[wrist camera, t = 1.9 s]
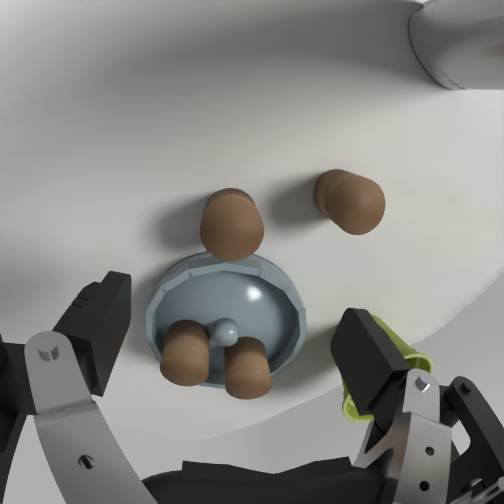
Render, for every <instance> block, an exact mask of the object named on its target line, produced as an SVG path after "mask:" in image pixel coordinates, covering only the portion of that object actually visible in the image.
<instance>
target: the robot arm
mask: <svg viewBox="0 0 504 504" xmlns="http://www.w3.org/2000/svg"><path fill="white" fill-rule="evenodd" d="M409 34H410V39H411V42H412V46H413V48H414V50H415V53H416V55H417V57H418V59H419V60H420V62H421V64H422V65H423V67H424V68H425V69H426V71H427V72H428V73H429V74H430V75H431V76H432V77H433V79H435V80H436V81H437V82H438V83H439V84H441V85H442V86H444V87H446V88H448V89H452V90H472V89H482V90H504V0H429V1H427V2H425V3H423V7H422V9H421V10H419V11H416V12H415V13H414V14H413V15H412V17H411V19H410V22H409ZM130 319H131V275H130V274H125V273H120V272H115V271H109V272H108V274H107V275H106V276H105V278H104V279H103V280H102V282H101V283H99V282H93V283H91V284H89V285H87V286H86V287H84V288H83V289H82V290H81V292H80V293H79V294H78V295H77V298H75V299H74V301H73V302H72V303H71V306H69V307H68V309H67V310H66V312H65V313H64V314H63V316H62V317H61V318H60V320H59V321H58V323H57V324H56V326H55V327H54V328H53V330H52V331H44V332H40V333H38V334H35V335H34V336H32V337H31V338H30V339H29V340H28V341H27V343H26V344H15V343H5V342H3V340H2V337H1V334H0V504H2V503H3V498H4V493H5V487H6V483H7V479H8V475H9V471H10V467H11V463H12V460H13V456H14V453H15V449H16V446H17V443H18V440H19V437H20V434H21V431H22V428H23V425H24V423H25V420H26V417H27V415H34V422H35V426H36V430H37V433H38V436H39V439H40V442H41V445H42V448H43V451H44V454H45V456H46V459H47V462H48V464H49V467H50V469H51V472H52V474H53V476H54V479H55V481H56V483H57V485H58V487H59V489H60V492H61V494H62V496H63V498H64V500H65V502H66V504H504V428H503V426H502V424H501V423H500V421H499V420H498V418H497V417H496V415H495V414H494V412H493V410H492V409H491V407H490V406H489V404H488V403H487V401H486V400H485V399H484V397H483V396H482V394H481V393H480V391H479V390H478V389H477V387H476V386H475V385H474V384H473V382H471V381H470V380H469V379H467V378H465V377H461V376H458V377H456V378H455V379H454V380H453V381H452V383H451V384H450V385H449V386H441V385H439V384H438V382H437V381H436V379H435V378H434V377H433V376H432V375H431V374H430V373H428V372H427V371H424V370H422V369H412V368H411V366H410V365H409V363H408V362H407V361H406V359H405V358H404V356H403V355H402V353H401V352H400V351H399V349H398V348H397V347H395V346H396V345H395V344H394V342H393V341H392V340H390V339H391V338H390V337H389V335H388V334H387V333H386V331H385V330H384V329H383V328H381V327H380V326H379V325H378V324H377V323H376V321H375V320H374V319H373V317H372V316H371V315H370V313H369V312H368V311H367V310H365V309H356V308H348V309H346V310H345V312H344V314H343V316H342V318H341V321H340V323H339V325H338V327H337V329H336V331H335V334H334V336H333V338H332V341H331V354H332V356H333V358H334V360H335V363H336V365H337V367H338V369H339V371H340V373H341V376H342V378H343V380H344V382H345V384H346V387H347V389H348V391H349V393H350V396H351V398H352V400H353V402H354V405H355V407H356V409H357V411H358V414H359V416H365V415H373V417H374V418H373V419H372V420H371V421H370V423H369V425H368V428H367V431H366V434H365V437H364V440H363V443H362V446H361V448H360V451H359V454H358V456H357V459H356V461H355V462H354V464H353V465H351V462H350V459H349V457H342V458H336V459H329V460H322V461H315V462H311V463H308V464H306V465H303V466H300V467H297V468H294V469H290V470H287V471H284V472H281V473H276V474H270V473H265V472H259V471H254V470H249V469H245V468H240V467H236V466H232V465H227V464H210V463H199V462H189V461H183V463H182V470H180V471H170V472H165V473H160V474H157V475H153V476H150V477H148V478H145V479H143V480H140V479H139V477H138V476H137V474H136V473H135V471H134V470H133V468H132V466H131V465H130V463H129V462H128V460H127V459H126V457H125V455H124V454H123V452H122V450H121V449H120V447H119V445H118V443H117V442H116V440H115V438H114V436H113V434H112V433H111V431H110V429H109V427H108V425H107V423H106V421H105V419H104V417H103V415H102V413H101V411H100V409H99V407H98V405H97V403H96V402H95V401H93V399H92V397H91V395H92V394H94V395H97V396H101V397H103V394H104V391H105V388H106V386H107V383H108V380H109V377H110V374H111V372H112V369H113V366H114V364H115V361H116V358H117V356H118V353H119V350H120V348H121V345H122V343H123V340H124V338H125V335H126V333H127V330H128V328H129V324H130ZM458 420H460V421H461V423H462V424H463V426H464V428H465V430H466V431H467V433H468V435H469V437H470V446H469V448H468V449H467V450H466V451H465V452H464V453H463V454H462V455H461V456H460V455H459V453H458V451H457V449H456V447H455V445H454V443H453V442H452V439H451V428H452V427H453V426H454V425H455V424H456V423H457V422H458ZM481 479H482V480H481ZM480 480H481V481H480Z"/></svg>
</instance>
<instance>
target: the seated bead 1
mask: <svg viewBox="0 0 504 504" xmlns="http://www.w3.org/2000/svg"><path fill="white" fill-rule="evenodd" d="M209 347H210V335H209V332H208V330H207V329H206V327H205V326H203V325H202V324H201V323H199V322H197V321H194V320H179V321H176V322H174V323H173V324H172V325H171V326H170V327H169V329H168V332H167V336H166V341H165V345H164V350H163V354H162V359H161V363H160V371H161V373H162V375H163V376H164V377H165V378H166V379H167V380H169V381H170V382H172V383H174V384H177V385H181V386H195V385H198V384H201V383H203V382H204V381H205V380H206V379H207V377H208V374H209Z"/></svg>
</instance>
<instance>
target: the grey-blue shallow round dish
mask: <svg viewBox="0 0 504 504" xmlns="http://www.w3.org/2000/svg"><path fill="white" fill-rule="evenodd" d="M179 320H194V321H197V322H199V323H201V324H202V325H203V326H205V327H206V329H207V330H208V332H209V335H210V347H209V374H208V377H207V379H206V380H205V381H204V382H203V383H201V384H198V385H200V386H206V387H215V388H224V389H226V388H225V361H224V350H225V347H226V346H231V345H233V344H235V343H236V342H237V339H238V337H245V336H247V337H254V338H256V339H258V340H260V341H261V342H262V343H263V344H264V346H265V350H266V355H267V360H268V365H269V370H270V376H271V377H273V376H275V375H277V374H279V373H280V372H281V371H282V370H283V369H284V368H285V367H287V366H288V365H289V364H290V363H291V362H292V361H293V360H294V359H295V358H296V357H297V356H298V354H299V351H300V349H301V347H302V345H303V342H304V340H305V338H306V335H307V326H306V311H305V308H304V305H303V303H302V301H301V299H300V297H299V295H298V292H297V290H296V288H295V286H294V285H293V283H292V281H291V280H290V279H289V277H288V276H287V275H286V274H285V273H284V272H283V271H282V270H281V269H280V268H279V267H278V266H276V265H275V264H273V263H272V262H270V261H268V260H267V259H265V258H263V257H260V256H258V255H255V254H252V255H250V256H249V257H247V258H245V259H242V260H239V261H224V260H221V259H218V258H216V257H214V256H213V255H212V254H210V253H209V252H208V251H206V252H202V253H198V254H195V255H193V256H190V257H188V258H186V259H184V260H182V261H180V262H178V263H177V264H176V265H174V266H173V267H172V268H170V269H169V270H168V271H167V272H166V273H165V274H164V275H163V277H162V278H161V280H160V281H159V282H158V284H157V286H156V288H155V290H154V293H153V295H152V298H151V300H150V302H149V305H148V307H147V310H146V332H145V336H146V339H147V341H148V343H149V345H150V347H151V349H152V351H153V353H154V355H155V357H156V359H158V360H159V361H160V362H161V359H162V354H163V350H164V345H165V341H166V336H167V332H168V329H169V327H170V326H171V325H172V324H173V323H174V322H176V321H179Z"/></svg>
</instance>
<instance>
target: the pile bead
mask: <svg viewBox="0 0 504 504" xmlns="http://www.w3.org/2000/svg"><path fill="white" fill-rule="evenodd" d="M314 201H315V204H316V206H317V207H318V209H319V210H320V211H321V212H322V213H323V214H325V215H326V216H327V217H328V218H329V219H331V220H332V221H333V222H334V223H335V224H337V225H338V226H339V227H340V228H341V229H342V230H344V231H345V232H347V233H349V234H352V235H362V234H365V233H368V232H370V231H371V230H373V229H374V228H375V227H376V226H377V225H378V224H379V222H380V221H381V219H382V217H383V214H384V211H385V198H384V194H383V192H382V190H381V188H380V187H379V185H378V184H376V183H375V182H374V181H372V180H370V179H367V178H365V177H362V176H359V175H356V174H353V173H350V172H347V171H344V170H340V169H334V170H330V171H328V172H326V173H324V174H323V175H322V176H321V177H320V178H319V179H318V181H317V182H316V185H315V188H314Z"/></svg>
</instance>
